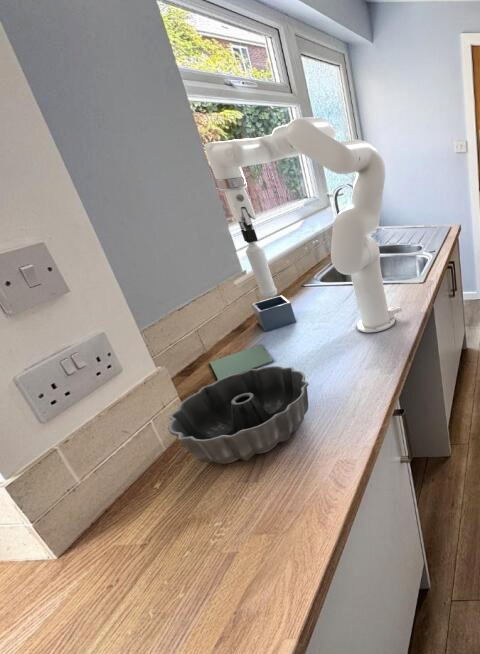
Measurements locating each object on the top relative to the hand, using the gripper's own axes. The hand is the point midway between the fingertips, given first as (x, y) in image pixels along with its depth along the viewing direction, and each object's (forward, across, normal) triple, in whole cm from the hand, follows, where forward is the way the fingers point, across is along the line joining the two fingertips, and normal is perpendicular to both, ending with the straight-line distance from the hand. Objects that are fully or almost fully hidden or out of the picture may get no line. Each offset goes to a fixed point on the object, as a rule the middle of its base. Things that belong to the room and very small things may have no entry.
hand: (251, 240), depth 134 cm
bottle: (+20, 0, 0) cm, 20 cm away
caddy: (+30, +1, 0) cm, 30 cm away
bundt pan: (+31, -59, +22) cm, 70 cm away
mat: (+30, -21, +16) cm, 41 cm away
